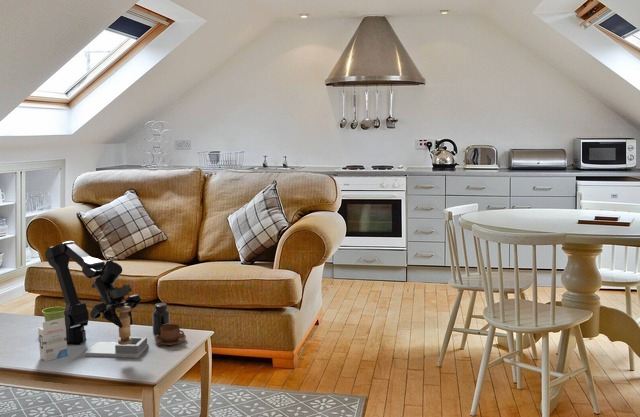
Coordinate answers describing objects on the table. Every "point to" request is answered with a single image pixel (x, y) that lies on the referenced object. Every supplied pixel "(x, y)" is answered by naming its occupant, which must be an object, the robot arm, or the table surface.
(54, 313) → the plant pot
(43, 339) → the ink box
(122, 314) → the bobbin
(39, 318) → the table surface
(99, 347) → the board
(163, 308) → the supplement bottle
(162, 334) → the cup and saucer
